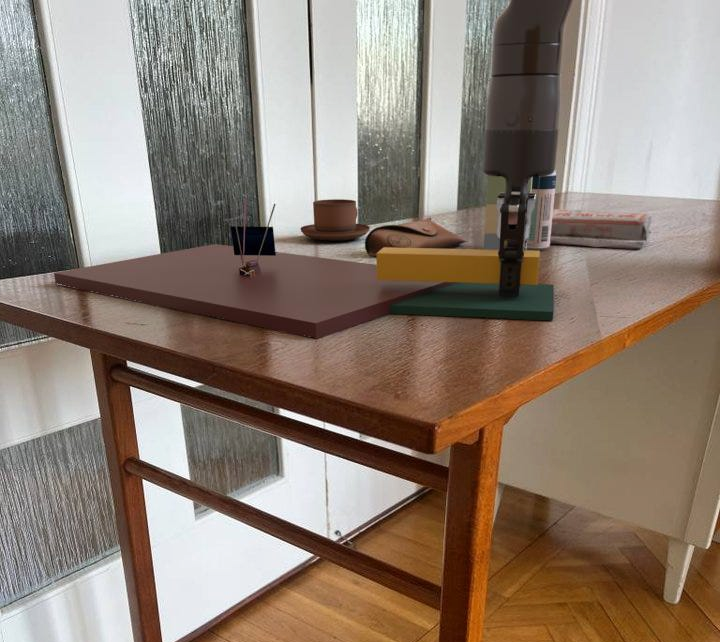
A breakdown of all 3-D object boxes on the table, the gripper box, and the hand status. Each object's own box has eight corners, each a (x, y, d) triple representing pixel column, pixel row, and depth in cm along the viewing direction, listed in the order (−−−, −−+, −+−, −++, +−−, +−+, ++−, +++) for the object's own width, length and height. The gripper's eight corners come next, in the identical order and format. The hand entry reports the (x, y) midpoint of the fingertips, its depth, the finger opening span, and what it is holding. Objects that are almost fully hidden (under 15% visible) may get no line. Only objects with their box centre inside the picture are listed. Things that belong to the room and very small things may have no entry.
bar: (537, 277, 86) (539, 250, 85) (536, 285, 83) (539, 256, 81) (383, 273, 90) (383, 247, 89) (376, 280, 86) (376, 253, 85)
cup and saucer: (315, 233, 138) (314, 197, 135) (378, 235, 135) (378, 198, 132) (290, 243, 128) (288, 204, 125) (357, 245, 125) (356, 206, 122)
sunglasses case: (410, 257, 111) (391, 214, 110) (377, 277, 116) (358, 237, 115) (469, 241, 124) (453, 203, 123) (437, 260, 129) (421, 223, 128)
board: (55, 284, 99) (40, 202, 94) (215, 254, 119) (209, 185, 114) (316, 338, 74) (312, 230, 69) (463, 288, 94) (467, 201, 89)
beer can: (550, 246, 121) (557, 166, 116) (548, 251, 117) (556, 168, 112) (519, 246, 123) (526, 166, 117) (517, 250, 118) (523, 168, 113)
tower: (526, 256, 114) (533, 170, 109) (524, 263, 109) (532, 174, 103) (486, 255, 115) (491, 170, 110) (482, 262, 110) (488, 173, 105)
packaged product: (655, 210, 123) (648, 218, 115) (651, 241, 125) (643, 250, 117) (546, 206, 130) (531, 212, 122) (543, 235, 133) (529, 243, 125)
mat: (552, 292, 91) (553, 284, 91) (552, 321, 79) (553, 311, 79) (375, 286, 96) (375, 278, 95) (349, 312, 84) (349, 303, 83)
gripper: (559, 127, 71) (542, 308, 79) (558, 124, 84) (544, 280, 91) (479, 127, 73) (470, 305, 80) (490, 124, 85) (481, 278, 93)
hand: (509, 291), depth 86 cm, fingers closed on bar, 4 cm apart
